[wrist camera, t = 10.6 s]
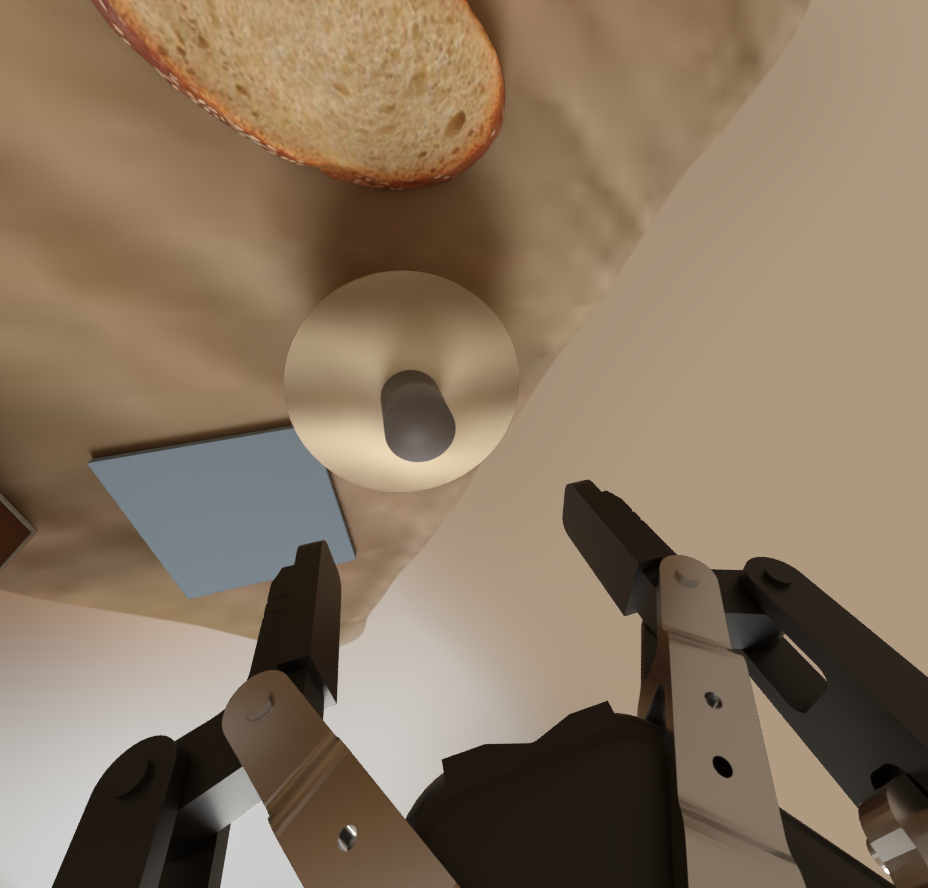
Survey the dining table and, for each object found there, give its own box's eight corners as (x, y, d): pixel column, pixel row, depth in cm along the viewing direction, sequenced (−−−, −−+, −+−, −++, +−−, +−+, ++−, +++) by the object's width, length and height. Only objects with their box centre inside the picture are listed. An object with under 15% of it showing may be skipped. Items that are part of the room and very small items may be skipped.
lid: (246, 285, 18) (209, 302, 13) (514, 257, 20) (557, 263, 16) (324, 503, 25) (316, 560, 21) (514, 463, 27) (544, 507, 23)
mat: (92, 458, 26) (87, 463, 25) (312, 421, 28) (311, 425, 28) (190, 593, 33) (188, 599, 33) (355, 555, 36) (355, 559, 35)
